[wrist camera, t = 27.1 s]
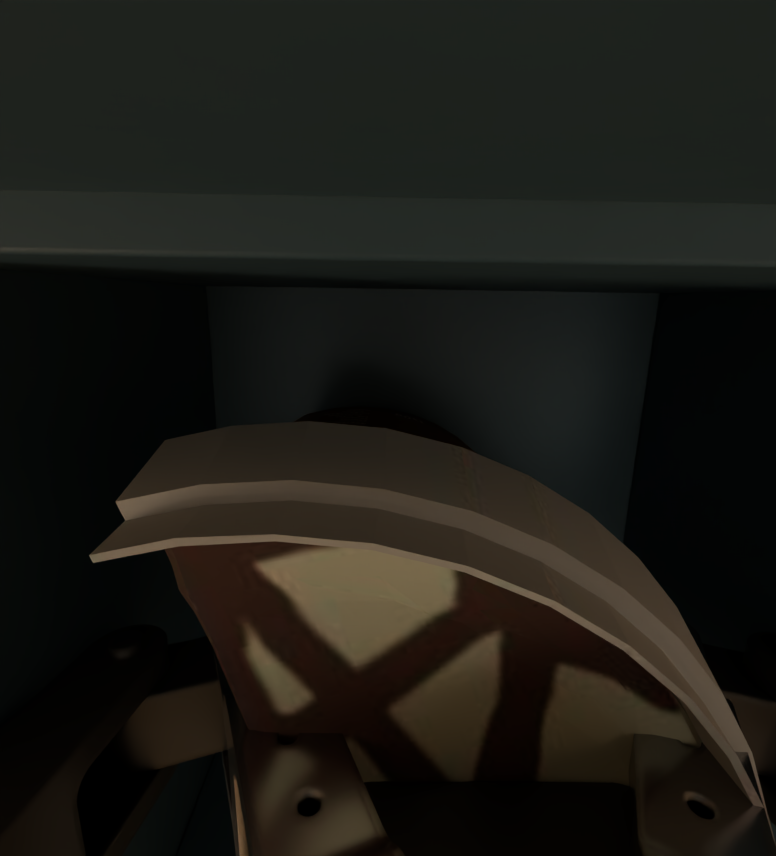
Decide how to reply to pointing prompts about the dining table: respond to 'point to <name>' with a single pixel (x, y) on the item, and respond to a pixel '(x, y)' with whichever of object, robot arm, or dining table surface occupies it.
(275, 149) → the lid
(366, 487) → the food container
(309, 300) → the cool chest
